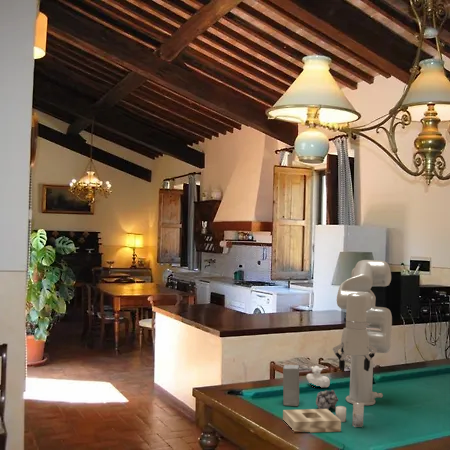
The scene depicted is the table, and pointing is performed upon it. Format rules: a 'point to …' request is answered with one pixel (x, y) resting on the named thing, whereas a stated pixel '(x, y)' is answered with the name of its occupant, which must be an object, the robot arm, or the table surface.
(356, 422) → the grey beige post
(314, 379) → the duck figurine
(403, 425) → the table surface
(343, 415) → the short white pin
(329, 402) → the mineral specimen
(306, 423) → the hole slab
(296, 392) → the skincare box
